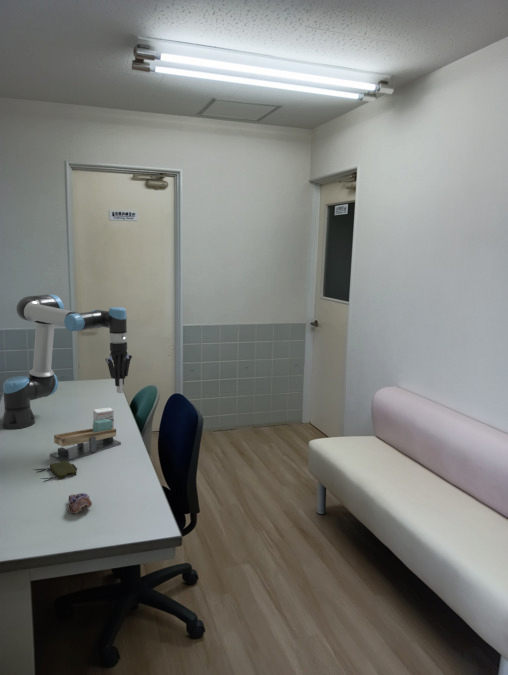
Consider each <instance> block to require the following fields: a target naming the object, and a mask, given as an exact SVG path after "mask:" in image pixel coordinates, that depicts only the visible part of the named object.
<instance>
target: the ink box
mask: <svg viewBox="0 0 508 675" xmlns="http://www.w3.org/2000/svg"><path fill="white" fill-rule="evenodd" d="M92 412H93V413H92V414H93V416H92V417H93V421H97V420H103V419H108V420H111V421H112V428H114V429H115V423H114V422H115V419H114V418H115V417H114V416H115V414H114V409H113V408H111V407H110V406H109V407H103V408H95V409H93V410H92Z"/></svg>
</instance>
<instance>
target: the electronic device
mask: <svg viewBox="0 0 508 675" xmlns="http://www.w3.org/2000/svg"><path fill="white" fill-rule="evenodd" d="M47 470H50V472H51V473H52V474H53V476H54V477H52V476H51V477H42V478H41V477H40V478H39V479H40V480H43V483H44V482H48V481H51V480H53V479H57V480H64V479H67V478H70V477H75V476H77V471H78V467H76V465H75V464H74V463H71V462H68V461H62V462H60V461H59V462H54V463H50V464H49V467H46V468H45V467H44V468H35V469H34V468H33V471H37V472H36V473H41V472H44V471H47Z"/></svg>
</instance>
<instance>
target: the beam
mask: <svg viewBox="0 0 508 675" xmlns="http://www.w3.org/2000/svg"><path fill="white" fill-rule="evenodd" d="M116 435H117V429H116V428H115V427H114V428H112V430H106V431H101V432H95V433H94V432H93V427H92V428H85V429H82V430H76V431H70V432H64V433H57V434H54V435H53V443H54V444H56V445H58V446H60V447H63V448H65V447H68V446H75V445H77V444H79V443H87V442H89V438H91V437H96V440H100V439H105V438H110V437H113V438H115V437H116Z"/></svg>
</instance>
